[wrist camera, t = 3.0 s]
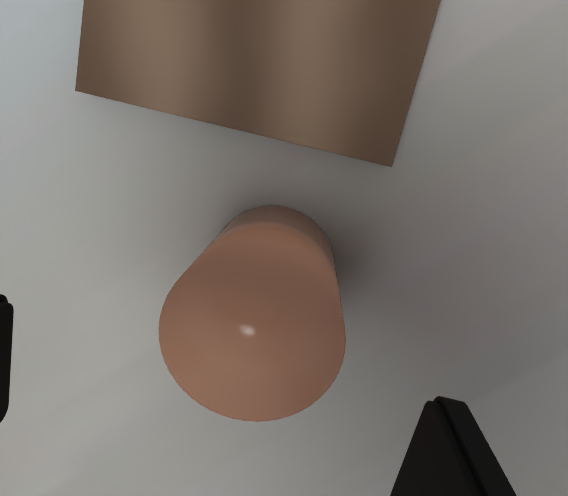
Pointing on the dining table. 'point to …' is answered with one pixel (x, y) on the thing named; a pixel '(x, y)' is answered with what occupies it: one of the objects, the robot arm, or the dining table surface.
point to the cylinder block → (257, 318)
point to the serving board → (265, 65)
